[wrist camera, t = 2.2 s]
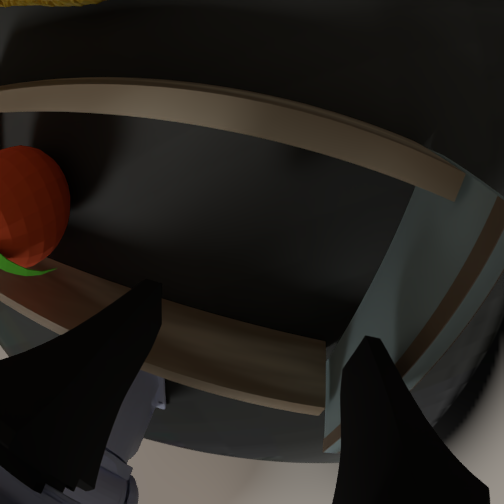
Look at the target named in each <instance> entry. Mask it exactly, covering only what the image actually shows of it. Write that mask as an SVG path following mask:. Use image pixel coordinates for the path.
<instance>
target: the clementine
mask: <svg viewBox="0 0 504 504" xmlns="http://www.w3.org/2000/svg"><path fill="white" fill-rule="evenodd" d="M69 215H70V192H69V186H68V183H67V181H66V178H65V175H64V173H63V172H62V170H61V168H60V166H59V165H58V164H57V163H56V162H55V160H54V159H52V158H51V157H50V156H48V155H47V154H45V153H44V152H42V151H41V150H40V149H36V148H33V147H28V146H22V145H20V146H14V147H10V148H6V149H2V150H0V269H2V270H4V271H6V272H9V273H13V274H16V275H22V276H35V275H42V274H45V273H47V272H50V271H52V270H55V269H57V268H54V269H49V270H44V271H38V270H31V269H26V268H27V267H31V266H34V265H36V264H37V263H39V262H40V261H42V260H43V259H45V258H46V257H47V256H48V255H50V254H51V253H52V251H53V250H54V249H55V248H56V246H57V245H58V244H59V242H60V240H61V238H62V237H63V234H64V232H65V230H66V227H67V225H68V220H69Z"/></svg>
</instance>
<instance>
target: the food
mask: <svg viewBox="0 0 504 504" xmlns="http://www.w3.org/2000/svg"><path fill="white" fill-rule="evenodd" d="M103 1H105V0H0V7H9V6H27V5H42V6H51V7H54V6H68V7H70V6H83V5H88V4H98V3H100V2H103Z"/></svg>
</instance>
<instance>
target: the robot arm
mask: <svg viewBox="0 0 504 504" xmlns="http://www.w3.org/2000/svg"><path fill="white" fill-rule="evenodd" d="M161 325H162V284H161V283H158V282H154V281H151V280H148V279H145V280H143V281H142V282H140V283H139V284H138V285H136V286H135V287H133V288H132V289H131V290H129V291H128V292H127V293H125V294H124V295H122V296H121V297H120V298H118V299H117V300H116V301H114V302H113V303H111V304H110V305H108V306H107V307H105V308H104V309H103V310H101V311H100V312H98V313H97V314H95V315H94V316H92V317H90V318H89V319H87V320H86V321H84V322H83V323H81V324H79V325H78V326H76V327H74V328H73V329H71V330H69V331H67V332H66V333H64V334H62V335H60V336H58V337H56V338H54V339H52V340H50V341H48V342H46V343H44V344H42V345H39V346H37V347H35V348H32V349H30V350H28V351H25V352H23V353H20V354H17V355H14V356H11V357H8V358H5V359H2V360H0V504H138V488H137V485H136V481H135V479H134V478H133V476H131V475H130V474H131V472H132V469H133V468H132V467H131V466H129V465H127V462H128V460H129V459H131V458H132V457H133V456H134V455H135V454H136V452H137V451H138V449H139V446H140V444H141V441H142V439H143V436H144V434H145V432H146V429H147V427H148V424H149V422H150V419H151V417H152V415H153V412H154V410H155V407H158V408H161V409H165V408H166V392H165V378H162V377H159V376H156V375H153V374H150V373H148V372H145V371H142V370H140V369H141V367H142V365H143V363H144V362H145V360H146V358H147V356H148V354H149V353H150V351H151V349H152V347H153V345H154V342H155V340H156V337H157V335H158V333H159V330H160V328H161ZM340 418H341V454H340V463H339V471H338V477H337V483H336V488H335V494H334V498H333V503H332V504H490V496H489V488H488V487H487V486H486V485H485V484H484V483H482V482H481V481H480V480H479V479H478V478H477V477H475V476H474V475H473V474H472V473H471V472H470V471H469V470H468V469H467V468H466V467H465V466H464V465H463V464H462V463H461V462H460V461H459V460H458V459H457V458H456V457H455V456H454V455H453V454H452V452H451V451H450V450H449V449H448V447H447V446H446V445H445V444H444V443H443V441H442V440H441V439H440V438H439V436H438V435H437V433H436V432H435V431H434V429H433V428H432V426H431V425H430V424H429V422H428V421H427V419H426V418H425V416H424V415H423V413H422V411H421V410H420V408H419V407H418V405H417V403H416V402H415V400H414V398H413V397H412V395H411V393H410V391H409V390H408V388H407V386H406V384H405V382H404V381H403V379H402V377H401V375H400V373H399V371H398V370H397V368H396V366H395V364H394V362H393V360H392V358H391V357H390V355H389V353H388V351H387V349H386V348H385V346H384V344H383V342H382V341H381V339H380V338H376V337H371V336H366V335H365V336H364V338H363V339H362V341H361V342H360V344H359V345H358V347H357V348H356V350H355V351H354V353H353V354H352V356H351V357H350V359H349V360H348V362H347V363H346V365H345V366H344V367H343V369H342V377H341V388H340Z"/></svg>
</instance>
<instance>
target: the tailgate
mask: <svg viewBox="0 0 504 504" xmlns="http://www.w3.org/2000/svg"><path fill="white" fill-rule="evenodd" d="M429 150H430V151H432V152H434V153H435V154H437V155H438V156H440V157H441V158H443V159H445V160H446V161H448V162H449V163H451V164H452V165H454V166H455V167H457V168H458V169H460V170H461V171H463V172H464V173H465V174H466V175H465V177H464V180H463V182H462V185H461V187H460V190H459V192H458V195H457V197H456V199H455V202H453V201H451V200H448V199H446V198H444V197H442V196H439V195H437V194H434V193H432V192H430V191H427V190H425V189H422V188H420V187H417V186H415V189H414V191H413V194H412V196H411V199H410V201H409V203H408V206H407V208H406V211H405V213H404V215H403V218H402V220H401V222H400V225H399V227H398V229H397V231H396V233H395V236H394V238H393V240H392V242H391V244H390V247H389V249H388V251H387V253H386V255H385V257H384V259H383V261H382V263H381V265H380V267H379V269H378V271H377V273H376V275H375V277H374V279H373V281H372V283H371V285H370V287H369V289H368V291H367V292H366V294H365V296H364V298H363V300H362V302H361V304H360V305H359V307H358V309H357V311H356V313H355V314H354V316H353V318H352V320H351V321H350V323H349V325H348V327H347V328H346V330H345V332H344V334H343V335H342V337H341V339H340V340H339V342H338V344H337V345H336V347H335V348H334V350H333V352H332V353H331V355H330V357H329V358H328V360H327V361H326V403H325V434H324V439H323V452H327V453H340V452H341V418H340V388H341V377H342V369H343V367H344V366H345V365H346V363H347V362H348V360H349V359H350V357H351V356H352V354H353V353H354V351H355V350H356V348H357V347H358V345H359V344H360V342H361V341H362V339H363V338H364V336H365V335H366V336H371V337H376V338H380V339H381V341H382V342H383V344H384V346H385V348H386V349H387V351H388V353H389V355H390V357H391V358H392V360H393V362H394V364H395V366H396V368H397V370H398V371H399V373H400V375H401V377H402V379H403V381H404V382H405V384H406V386H407V388H408V390H409V391H411V390H412V389H413V388H414V387H415V386H416V385H417V384H418V383H419V382H420V381H421V380H422V379H423V377H424V376H425V375H426V374H427V373H428V372H429V371H430V370H431V369H432V368H433V367H434V365H435V364H436V363H437V362H438V361H439V360H440V359H441V357H442V356H443V355H444V354H445V353H446V352H447V350H448V349H449V348H450V347H451V345H452V344H453V343H454V342H455V341H456V339H457V338H458V337H459V335H460V334H461V333H462V332H463V330H464V329H465V328H466V326H467V325H468V324H469V322H470V321H471V320H472V318H473V317H474V315H475V314H476V313H477V311H478V310H479V308H480V307H481V306H482V304H483V303H484V301H485V300H486V298H487V297H488V295H489V294H490V292H491V291H492V289H493V287H494V286H495V284H496V283H497V281H498V279H499V278H500V276H501V275H502V273H503V271H504V197H503V196H502V195H501V194H499V193H498V192H497V191H495V190H494V189H493V188H491V187H490V186H489V185H487V184H486V183H484V182H483V181H482V180H480V179H479V178H477V177H476V176H475V175H473V174H472V173H470V172H469V171H467V170H466V169H464V168H463V167H461V166H460V165H458V164H457V163H455V162H453V161H452V160H450V159H449V158H447V157H445V156H444V155H442V154H440V153H438V152H435V151H433V150H431V149H429Z"/></svg>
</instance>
